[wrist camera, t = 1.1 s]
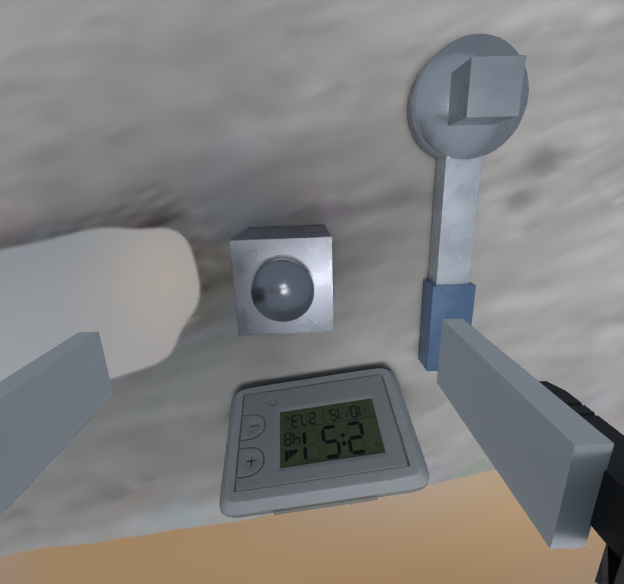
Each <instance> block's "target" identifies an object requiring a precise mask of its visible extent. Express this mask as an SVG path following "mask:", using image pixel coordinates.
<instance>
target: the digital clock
mask: <svg viewBox="0 0 624 584" xmlns="http://www.w3.org/2000/svg"><path fill="white" fill-rule="evenodd" d="M428 482H429V473H428V469H427V465H426V462H425V459H424V456H423V453H422V450H421V447H420V444H419V442H418V439H417V436H416V433H415V430H414V427H413V424H412V421H411V418H410V416H409V413H408V410H407V407H406V404H405V401H404V398H403V395H402V393H401V390H400V387H399V384H398V381H397V379H396V376H395V374H394V373H393V372H392V371H390V370H387V369H384V368H376V369H369V370H362V371H355V372H348V373H342V374H335V375H329V376H323V377H316V378H310V379H303V380H297V381H290V382H284V383H277V384H271V385H265V386H259V387H253V388H248V389H244V390H241V391H240V392H238V393H237V394H236V395H235V396H234V398H233V401H232V407H231V415H230V422H229V430H228V438H227V446H226V453H225V461H224V469H223V477H222V484H221V493H220V510H221V512H222V513H223V514H224V515H226V516H227V517H233V518H237V517H246V516H253V515H260V514H267V513H274V515H277V514H283V513H290V512H297V511H304V510H310V509H318V508H324V507H331V506H338V505H345V504H351V503H359V502H365V501H372V500H377V498H378V497H383V496H390V495H396V494H402V493H409V492H415V491H418V490H421V489H423V488H424V487H425V486H427V484H428Z"/></svg>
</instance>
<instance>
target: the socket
mask: <svg viewBox="0 0 624 584" xmlns="http://www.w3.org/2000/svg"><path fill="white" fill-rule="evenodd" d="M229 245H230V254H231V264H232V273H233V283H234V292H235V302H236V312H237V321H238V331H239V335H258V334H283V333H308V332H333V282H332V237H331V235H330V233H329V232H328V230H327V228H326V227H325V225H300V226H272V227H249V228H247V229H246V230H244V231H243V232H241V233H240V234H238V235H237V236H235V237H234V238H232V239H231V240H230V241H229Z"/></svg>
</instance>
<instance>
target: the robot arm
mask: <svg viewBox="0 0 624 584" xmlns="http://www.w3.org/2000/svg"><path fill="white" fill-rule="evenodd" d="M437 383H438V385H439V386H440V388H441V389H442V391H443V392H444V394H445V395H446V396H447V398H448V399H449V401H450V402H451V404H452V405H453V407H454V408H455V410H456V411H457V413H458V414H459V416H460V417H461V418H462V420H463V421H464V423H465V424H466V426H467V427H468V429H469V430H470V432H471V433H472V435H473V436H474V438H475V439H476V441H477V442H478V443H479V445H480V446H481V448H482V449H483V451H484V452H485V454H486V455H487V457H488V458H489V460H490V461H491V463H492V464H493V465H494V467H495V468H496V470H497V471H498V473H499V474H500V476H501V477H502V478H503V480H504V481H505V483H506V484H507V486H508V487H509V489H510V490H511V492H512V493H513V494H514V496H515V498H516V499H517V501H518V502H519V504H520V505H521V507H522V508H523V510H524V511H525V512H526V514H527V515H528V517H529V518H530V520H531V521H532V523H533V524H534V526H535V527H536V528H537V530H538V532H539V533H540V534H541V536H542V537H543V539H544V540H545V542H546V543H547V545H548V546H549V548H550V549H561V548H582V547H583V548H584V547H585V546H586V543H587V539H588V535H589V532H590V528H591V526H592V527H593V528H594V530H595V531H596V532H597V533H598V534H599V536H600V537H601V538H602V539H603V540H604V541H605V543H606V547H605V550H604V553H603V556H602V560H601V563H600V566H599V570H598V573H597V576H596V580H595V582H596V583H598V584H602V583H603V584H624V435H622V434H621V433H620V432H618V431H617V430H616V429H615V428H613V427H612V426H611V425H609V424H608V423H607V422H606V421H604V420H603V419H602V418H600V417H599V416H595V413H594V412H593V411H591V410H590V409H589V408H587V407H586V406H585V405H582V403H581V402H580V401H578V400H577V399H576V398H574V397H573V396H572V395H571V394H569V393H568V392H567V391H565V390H563V389H561V388H559V387H557V386H555V385H553V384H551V383H549V382H547V381H538V380H536V379H535V378H534V377H533V376H531V375H530V374H529V373H528V372H527V371H525V370H524V369H523V368H522V367H521V366H519V365H518V364H517V363H516V362H514V361H513V360H512V359H511V358H510V357H508V356H507V355H506V354H505V353H504V352H502V351H501V350H500V349H499V348H497V347H496V346H495V345H494V344H493V343H491V342H490V341H489V340H488V339H487V338H485V337H484V336H483V335H482V334H480V333H479V332H478V331H477V330H476V329H474V328H473V327H472V326H471V325H470V324H468V323H467V322H466V321H465V320H463V319H442V329H441V340H440V352H439V363H438V375H437ZM112 396H113V391H112V386H111V382H110V378H109V374H108V370H107V365H106V361H105V357H104V353H103V348H102V344H101V340H100V336H99V332H83V333H77V334H76V335H74V336H72V337H71V338H69V339H68V340H66V341H64V342H63V343H61V344H60V345H58V346H57V347H55V348H54V349H52V350H50V351H48V352H47V353H45V354H44V355H42V356H41V357H39V358H37V359H36V360H34V361H33V362H31V363H29V364H28V365H26V366H25V367H23V368H21V369H20V370H18V371H17V372H15V373H14V374H12V375H10V376H9V377H7V378H6V379H4V380H2V381H1V382H0V515H1V514H2V513H3V512H4V511H5V510H6V509H7V508H8V507H9V506H10V505H11V504H12V503H13V501H14V500H15V499H16V498H17V497H18V496H19V495H20V494H21V493H22V492H23V491H24V490H25V489H26V488H27V487H28V485H29V484H30V483H31V482H32V481H33V480H34V479H35V478H36V477H37V476H38V475H39V474H40V473H41V472H42V471H43V469H44V468H45V467H46V466H47V465H48V464H49V463H50V462H51V461H52V460H53V459H54V458H55V457H56V456H57V454H58V453H59V452H60V451H61V450H62V449H63V448H64V447H65V446H66V445H67V444H68V443H69V442H70V441H71V440H72V438H73V437H74V436H75V435H76V434H77V433H78V432H79V431H80V430H81V429H82V428H83V427H84V426H85V425H86V424H87V422H88V421H89V420H90V419H91V418H92V417H93V416H94V415H95V414H96V413H97V412H98V411H99V410H100V409H101V408H102V406H103V405H104V404H105V403H106V402H107V401H108V400H109V399H110V398H111V397H112Z"/></svg>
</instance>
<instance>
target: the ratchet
mask: <svg viewBox="0 0 624 584" xmlns="http://www.w3.org/2000/svg"><path fill="white" fill-rule="evenodd" d="M525 62H526V55H519V54H518V52H517V51H516V50H515V49H514V48H513V47H512V46H511V45H510V44H509V43H507V42H506V41H504V40H503V39H501V38H499V37H496V36H493V35H488V34H472V35H468V36H464V37H462V38H459V39H457V40H455V41H453V42H452V43H450V44H448V45H447V46H446V47H445V48H443V49H442V50H441V51H440V52H439V53H438V54H437V55H436V56H435V57H434V58H433V59H432V60H431V61H430V62H429V63H428V64H427V65H426V66H425V67H424V69H423V70H422V71H421V72H420V74H419V75H418V77H417V78H416V80H415V82H414V84H413V86H412V89H411V92H410V95H409V100H408V107H407V117H408V124H409V128H410V131H411V134H412V136H413V138H414V140H415V141H416V143H417V144H418V146H419V147H420V148H421V149H422V150H423V151H424V152H425V153H427V154H428V155H430V156H432V157H433V158H436V173H435V187H434V201H433V216H432V230H431V244H430V258H429V273H428V279H426V280H424V282H423V297H422V312H421V327H420V342H419V358H418V359H419V360H420V361H421V363H422V364H423V366H424V367H425V369H426V370H427V371H438V363H439V352H440V340H441V329H442V319H463V320H465V321H466V322H467V323H468V324H470V325H471V323H472V314H473V305H474V297H475V288H476V285H475V284H473V283H471V282H469V278H470V269H471V259H472V250H473V241H474V231H475V222H476V213H477V203H478V194H479V185H480V176H481V166H482V157H483V156H484V155H486V154H489V153H490V152H492V151H494V150H496V149H497V148H499V147H500V146H501V145H502V144H504V143H505V142H506V141H507V140H508V139H509V138H510V136H511V135H512V134H513V133H514V131H515V130H516V128H517V127H518V125H519V123H520V121H521V119H522V117H523V115H524V112H525V109H526V105H527V100H528V91H529V87H528V76H527V72H526V68H525Z"/></svg>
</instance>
